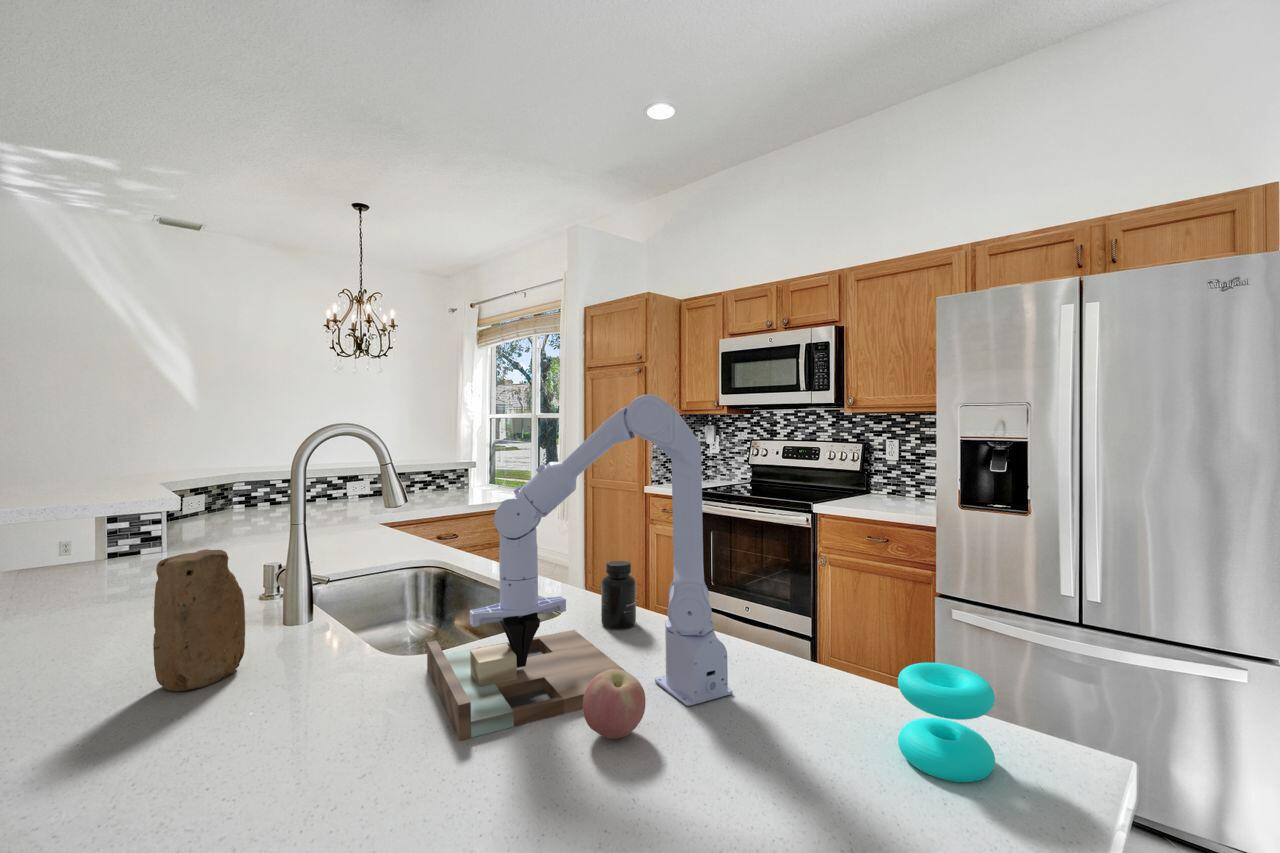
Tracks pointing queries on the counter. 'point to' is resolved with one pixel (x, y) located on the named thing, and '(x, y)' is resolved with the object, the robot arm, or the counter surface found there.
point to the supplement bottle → (618, 596)
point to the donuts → (946, 722)
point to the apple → (614, 703)
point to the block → (197, 620)
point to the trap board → (517, 684)
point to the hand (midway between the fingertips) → (519, 664)
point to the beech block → (493, 665)
